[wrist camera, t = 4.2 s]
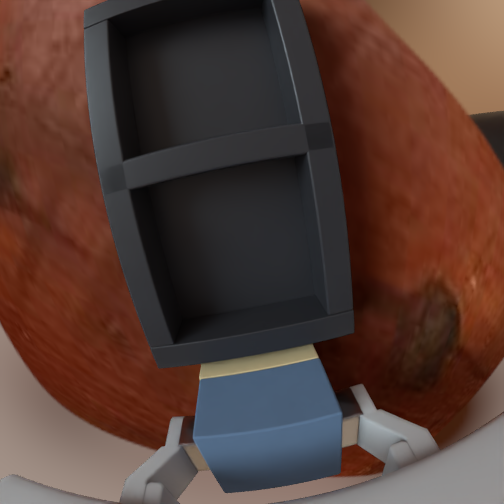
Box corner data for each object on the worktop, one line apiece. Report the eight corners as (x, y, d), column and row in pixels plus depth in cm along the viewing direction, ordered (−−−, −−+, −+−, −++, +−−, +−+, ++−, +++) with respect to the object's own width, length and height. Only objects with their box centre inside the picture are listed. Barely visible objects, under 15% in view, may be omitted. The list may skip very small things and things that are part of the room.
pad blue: (319, 356, 10) (343, 412, 7) (324, 422, 11) (340, 474, 8) (199, 378, 10) (191, 438, 7) (224, 440, 11) (224, 493, 8)
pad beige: (302, 319, 13) (318, 356, 10) (310, 382, 14) (323, 423, 11) (205, 337, 13) (198, 378, 10) (225, 398, 14) (224, 440, 11)
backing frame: (277, -2, 9) (286, -36, 6) (333, 302, 13) (354, 333, 10) (109, 35, 9) (83, 10, 6) (171, 332, 13) (158, 369, 10)
